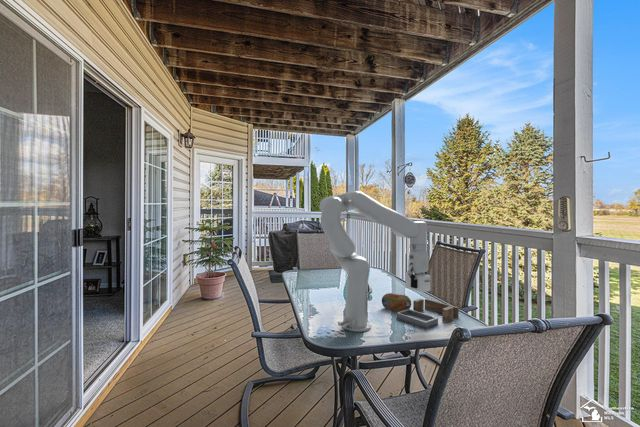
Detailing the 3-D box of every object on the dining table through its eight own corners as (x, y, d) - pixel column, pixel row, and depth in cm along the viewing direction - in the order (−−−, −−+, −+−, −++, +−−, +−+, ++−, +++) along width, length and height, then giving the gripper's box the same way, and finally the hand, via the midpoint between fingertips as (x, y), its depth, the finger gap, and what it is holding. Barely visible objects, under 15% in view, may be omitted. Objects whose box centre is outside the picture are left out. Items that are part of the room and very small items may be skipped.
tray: (425, 329, 136) (425, 322, 136) (396, 319, 148) (396, 312, 148) (437, 324, 142) (438, 318, 142) (408, 314, 154) (408, 308, 154)
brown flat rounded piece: (381, 308, 164) (381, 292, 164) (383, 306, 167) (383, 291, 167) (410, 313, 157) (410, 296, 157) (411, 311, 160) (412, 295, 160)
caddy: (426, 293, 138) (426, 277, 138) (405, 287, 147) (405, 273, 147) (432, 291, 141) (433, 275, 141) (411, 286, 150) (412, 271, 150)
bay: (446, 322, 144) (446, 309, 144) (413, 312, 158) (413, 300, 158) (458, 317, 151) (458, 305, 151) (425, 308, 165) (425, 296, 165)
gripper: (414, 250, 136) (413, 291, 137) (435, 247, 147) (435, 285, 147) (400, 248, 142) (399, 287, 143) (421, 245, 153) (421, 282, 153)
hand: (417, 286), depth 145 cm, fingers closed on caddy, 5 cm apart
